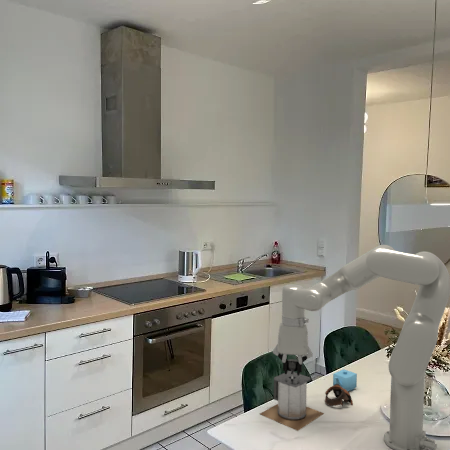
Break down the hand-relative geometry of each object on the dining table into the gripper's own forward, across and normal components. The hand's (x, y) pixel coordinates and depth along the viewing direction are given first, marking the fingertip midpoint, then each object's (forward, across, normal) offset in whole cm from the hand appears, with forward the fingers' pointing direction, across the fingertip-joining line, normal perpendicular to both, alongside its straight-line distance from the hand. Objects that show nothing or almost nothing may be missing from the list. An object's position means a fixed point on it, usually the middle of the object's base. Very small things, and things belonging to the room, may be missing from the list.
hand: (292, 372), depth 154 cm
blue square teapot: (+16, -18, -27) cm, 36 cm away
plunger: (+12, 0, 0) cm, 12 cm away
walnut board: (+16, 0, 0) cm, 16 cm away
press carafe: (+14, +1, -1) cm, 15 cm away
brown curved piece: (+16, -16, -14) cm, 26 cm away
